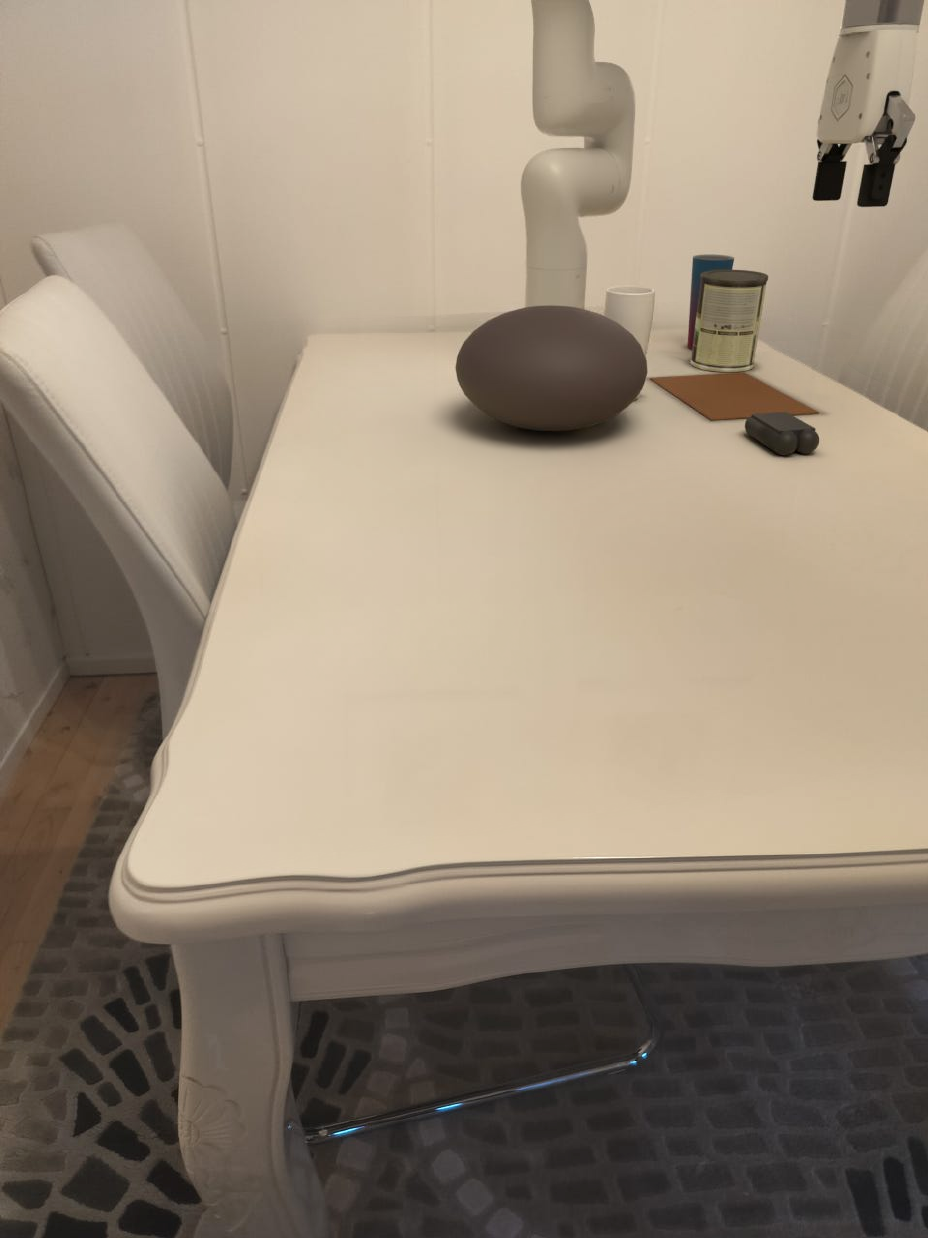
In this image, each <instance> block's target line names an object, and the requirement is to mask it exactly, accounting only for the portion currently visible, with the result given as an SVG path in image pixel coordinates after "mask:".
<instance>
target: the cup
mask: <svg viewBox="0 0 928 1238" xmlns="http://www.w3.org/2000/svg"><path fill="white" fill-rule="evenodd" d="M734 263H735V257H734V256H731V255H727V254H712V253H711V254H710V253H708V254H696V255H693V256H692V266H691V280H690V281H691V282H690V298H689V299H690V300H689V314H688V330H687V331H688V333H687V346H686V347H687V349H689V350H691V351H692V348H693V340H694V332H695V324H696V316H697V307H698V299H699V291H700V282H701V279H700V275H701V273H703V272H706V271H711V270H733V267H734Z"/></svg>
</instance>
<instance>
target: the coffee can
mask: <svg viewBox="0 0 928 1238" xmlns="http://www.w3.org/2000/svg"><path fill="white" fill-rule="evenodd" d="M700 279H701V282H700V291H699V299H698V307H697V316H696V324H695V332H694V340H693V348H692V350H691V358H690V365H691V366H692V367H693V368H697V369H699V370H703V371H709V372H716V373H742V372H746V371H749V370H752V369H753V368H754V367H755V357H756V351H757V345H758V339H759V332H760V328H761V327H760V326H761V321H762V320H761V319H762V312H763V307H764V301H765V295H766V290H767V289H766V288H767V282H768V280H769V275H768V274H766V273H764V272H760V271H755V270H746V269H732V270H711V271H706V272H703V273H701V275H700Z"/></svg>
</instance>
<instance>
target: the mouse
mask: <svg viewBox="0 0 928 1238" xmlns="http://www.w3.org/2000/svg"><path fill="white" fill-rule="evenodd" d="M744 430H745V432H746V433H747V435H749V436H750V437H752V438H753V439H755V440H756V441H758V442H759V443H760V444H762V445H764V446H765V447H767V448H768V449H770V450H771V451H772V452H774V453H776V454H778V455H780V456H788V455H791V454H793V453H794V452H795V451H796V452H798V453H800V454H806V455H807V454H810V453H813V452H814V451H815V450H816V449H817V448H818V447H819V444H820V436H819V434H818V432H817V430H816V427H814V426H812V425H811V424H809V423H807V422H805V421H804V420H802V419H799V418H798V417H796V416H795V415H791V414H789V413H787V412H774V413H764V414H761V413H755V414H752V415H751V416H749V417H748V418H746V419H745V422H744Z"/></svg>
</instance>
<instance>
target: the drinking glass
mask: <svg viewBox="0 0 928 1238" xmlns="http://www.w3.org/2000/svg"><path fill="white" fill-rule="evenodd" d="M655 295H656V291H655V289H653V288H651V287H647V286H641V285H640V286H639V285H615V286H610V287H608V288H607V289H606V291H605V298H604V306H603V307H604V309H603V316H605V317H607V318H609V319H611V320H613V321H615V322H617V323H619V324H620V325H621V326H622V327H624V328H625V329H626V330H627V331H628V332H630V333H631V334H632V335H633V336H634V337H635V339H636V340H637V341H638V342H639V344H640V345H641V347H642V350H643V352H644V355H645V358H646V359H647V353H648V347H649V342H650V337H651V332H652V326H653V320H654V312H655ZM640 396H641V392H640V393H639V395H638V396H637V398H636V399H635V400H634V401H637V400H638V399H639V397H640Z"/></svg>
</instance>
